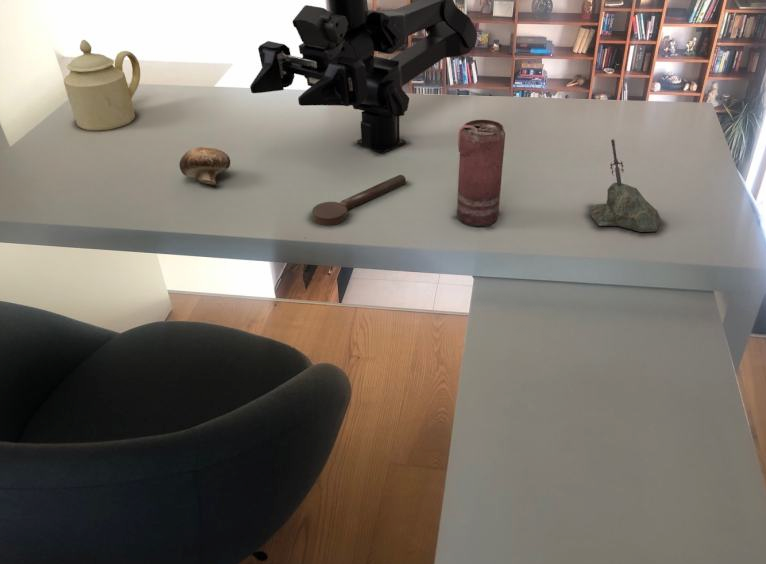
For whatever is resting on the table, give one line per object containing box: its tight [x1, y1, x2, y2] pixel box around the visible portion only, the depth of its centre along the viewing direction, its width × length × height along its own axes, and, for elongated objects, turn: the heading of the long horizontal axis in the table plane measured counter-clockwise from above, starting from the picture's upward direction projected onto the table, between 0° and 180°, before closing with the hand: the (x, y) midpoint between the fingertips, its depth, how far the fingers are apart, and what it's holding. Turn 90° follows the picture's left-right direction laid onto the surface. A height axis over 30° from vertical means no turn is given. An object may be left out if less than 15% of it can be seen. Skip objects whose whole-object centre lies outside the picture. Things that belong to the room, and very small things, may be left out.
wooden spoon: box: [311, 174, 407, 226], centre depth 107 cm, size 18×5×2 cm, turn 135°
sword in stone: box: [590, 138, 662, 233], centre depth 99 cm, size 10×8×12 cm
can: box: [456, 119, 506, 228], centre depth 99 cm, size 6×6×14 cm
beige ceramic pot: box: [63, 39, 141, 131], centre depth 133 cm, size 15×11×15 cm
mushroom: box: [178, 146, 231, 186], centre depth 113 cm, size 8×8×6 cm
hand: (275, 95), depth 99 cm, fingers open, 9 cm apart
